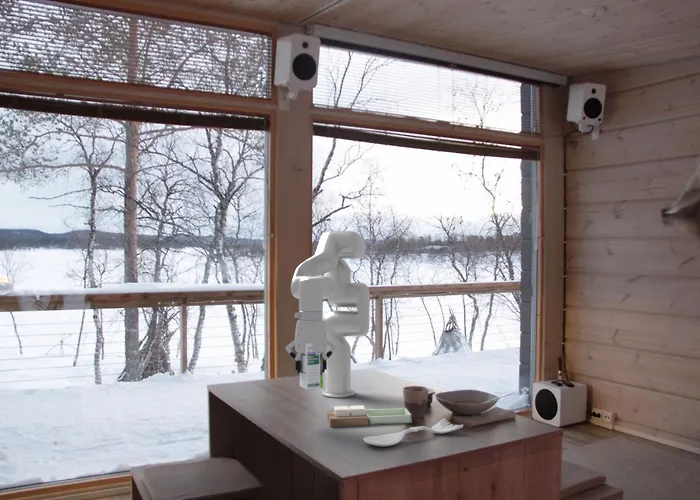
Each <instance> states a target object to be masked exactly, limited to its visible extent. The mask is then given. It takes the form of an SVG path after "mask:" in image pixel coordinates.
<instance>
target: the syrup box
mask: <svg viewBox="0 0 700 500" xmlns="http://www.w3.org/2000/svg"><path fill="white" fill-rule="evenodd" d="M299 360H300V374H299V387H300V388H302V389H304V390H312V389H313V390H314V389H315V390H316V389H323V388H324V377H323V376H324V375H323V374H324V373H323V353H315V352H313V349H312V343H306V344H305V353H302V354H301V356H300V358H299Z"/></svg>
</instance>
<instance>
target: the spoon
mask: <svg viewBox="0 0 700 500" xmlns="http://www.w3.org/2000/svg"><path fill="white" fill-rule="evenodd" d="M463 427H464V424H453V423H451V422H450V421H449V420H447V419H446V417H445V418H442V419H441V420H439V421H438V422H437V423H436V424H434V425H433V426H432V427H428V426H424V425H421V426H420V425H419V426H413V427H412V426H410V427H409V428H407V429H404V430H401V431H399V432H393V433H388V434H387V433H386V434H381V435H380V434H379V435H374V436H373V435H372V436H370V435H369V436H365V437H363V441H364V442H365V443H366V444H368V445H371V446H375V447H379V448H380V447H382V448H386V447H391V446H394V445H397V444H398V443H400V442H402V440H403V438H404V437H405V435H406V434H407V435H408V434H409V433H415V432H418V431H428V432H430V433H434V434H437V435H438V434H439V435H441V434H446V433H450V432H454V431H457V430H460V429H462V428H463Z"/></svg>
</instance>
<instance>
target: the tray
mask: <svg viewBox="0 0 700 500" xmlns="http://www.w3.org/2000/svg"><path fill="white" fill-rule="evenodd" d="M365 413H366V414H367V416H368V425H369V426H373V425H377V426H378V425H398V424H412V423H413V415H412V413H411V412H410V411H409V410H408V408H406V407H395V408H373V409H370V408H369V409H365Z"/></svg>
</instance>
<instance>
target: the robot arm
mask: <svg viewBox="0 0 700 500" xmlns="http://www.w3.org/2000/svg"><path fill="white" fill-rule="evenodd" d="M366 249H367V244H366V241H365V238H364V237H363V236H362V235H360V234H359V233H358V232H355V231H352V230H332V231H331V230H330V231H327V232H326V231H325V232H324V233H323V234H322V235H321V236H320V238H319V241H318V244H317V247H316V250H315V253H314V255H313V256H311V257H309V258H308V259H306V260H305V261H303V262H301V263H300V264H299V265H298V266H297V268H295V271H294V274H293V276H292V279H291V283H290V291H291V294H292V296H293V297H294V298H295V299H297V300H298V312H295V313H294V318H298V320H296V324H295V331H294V332H295V334H294V340H293V341H291V342H290V343H289V344H288V345H287V346H286V347H285V351H286V352H287V353H288V354H289V355H290V357H291V358H293V359H294V361H295V362H294V363H295V367H294V369H295V371H297V374H299V375H300V356H301V354H302V353H305V344H306V343H312V349H313V352H315V353H323V374H325V388H324V389H322V390H321V395H322V396H324V397H328V398H337V399H338V398H339V399H340V398H349V397H352V396H354V395H356V390H355V389H354V388H352V371H351V370H352V366H351V365H352V363H351V359H352V356H351V354H352V350H351V345H350V343H349V342H348V340H347V339H346V337H355V338H356V337H366V336H367V335H368V333H369V330H370V313H371V312H370V307H371V306H370V302H371V298H370V296H371V295H370V289H369V287H368V285H367V284H366V283H364V282H352V280H351V277H352V270H351V268H350V266H349V265H348V263H347V262H346V261H345V259H361V258H363V257H364V256H365V254H366ZM324 274H328V276H325V275H324ZM323 275H324V276H323ZM324 300H328V304H329V305H330V306H331V307H334V308H347V309H348V308H354V309H356V310H351V311H350V310H332V311H328V312H327V313H325V315H324V313H323V312H324V311H323V310H324V307H323V306H324V304H323V303H324V302H323V301H324ZM323 315H324V316H323ZM293 347H294V348H295V352H296V353H295V352H293V351H292V348H293Z"/></svg>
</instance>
